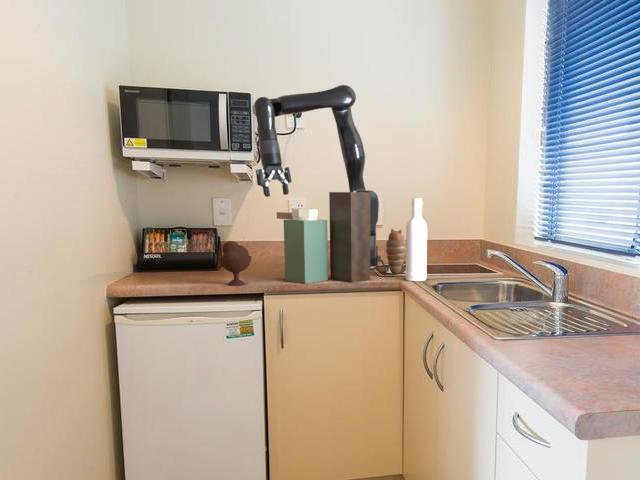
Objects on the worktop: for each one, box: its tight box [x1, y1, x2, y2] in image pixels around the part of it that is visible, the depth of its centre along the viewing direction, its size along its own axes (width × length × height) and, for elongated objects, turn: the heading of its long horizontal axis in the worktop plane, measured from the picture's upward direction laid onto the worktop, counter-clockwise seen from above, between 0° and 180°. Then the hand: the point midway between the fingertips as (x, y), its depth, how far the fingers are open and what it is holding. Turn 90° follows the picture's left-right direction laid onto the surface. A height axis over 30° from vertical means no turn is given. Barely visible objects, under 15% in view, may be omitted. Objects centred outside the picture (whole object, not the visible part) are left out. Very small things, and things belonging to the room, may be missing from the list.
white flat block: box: [276, 207, 319, 220], centre depth 187 cm, size 9×20×4 cm, turn 52°
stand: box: [328, 191, 371, 283], centre depth 188 cm, size 10×11×32 cm
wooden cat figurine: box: [385, 228, 406, 275], centre depth 204 cm, size 9×8×18 cm
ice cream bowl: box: [218, 240, 252, 287], centre depth 176 cm, size 11×11×15 cm
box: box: [283, 219, 329, 285], centre depth 186 cm, size 11×11×22 cm
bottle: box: [404, 198, 428, 282], centre depth 190 cm, size 8×8×30 cm
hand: (277, 195), depth 198 cm, fingers open, 8 cm apart
